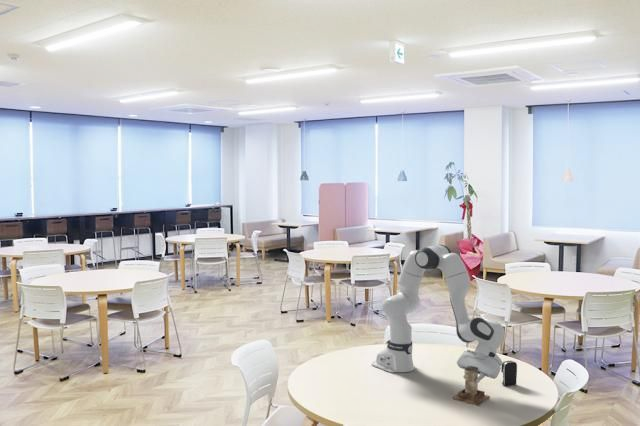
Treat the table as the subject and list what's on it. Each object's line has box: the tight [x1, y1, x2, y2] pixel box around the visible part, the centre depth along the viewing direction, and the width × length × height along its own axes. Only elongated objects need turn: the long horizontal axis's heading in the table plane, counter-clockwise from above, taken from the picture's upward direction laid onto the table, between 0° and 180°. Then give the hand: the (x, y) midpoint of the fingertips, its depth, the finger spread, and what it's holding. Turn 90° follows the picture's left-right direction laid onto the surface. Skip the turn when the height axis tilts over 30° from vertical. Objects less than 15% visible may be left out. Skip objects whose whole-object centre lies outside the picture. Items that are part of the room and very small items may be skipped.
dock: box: [452, 388, 491, 407], centre depth 259 cm, size 12×12×3 cm
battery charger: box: [500, 360, 518, 387], centre depth 275 cm, size 7×4×11 cm, turn 110°
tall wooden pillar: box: [464, 366, 479, 396], centre depth 259 cm, size 4×4×12 cm
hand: (470, 380), depth 258 cm, fingers closed on tall wooden pillar, 4 cm apart
